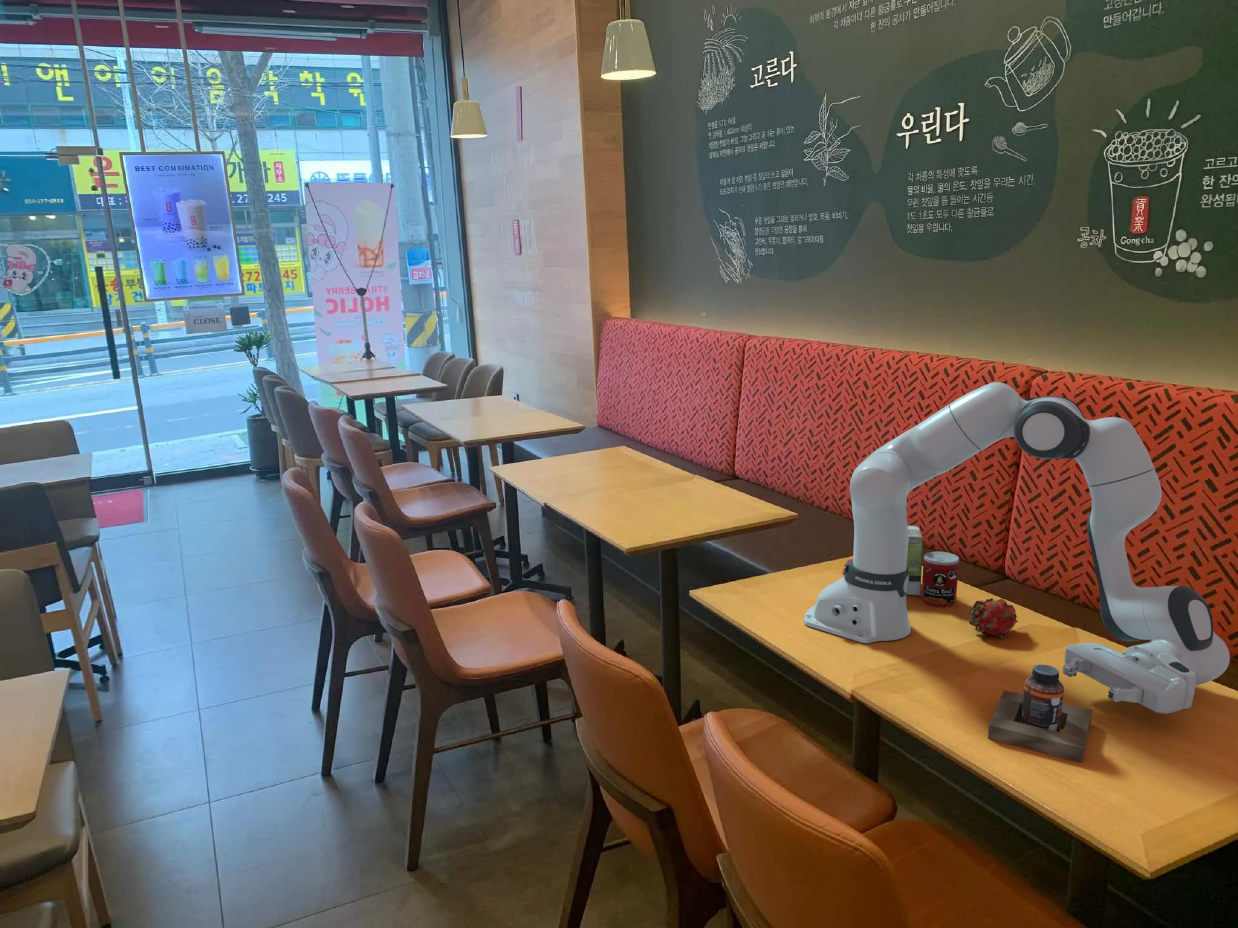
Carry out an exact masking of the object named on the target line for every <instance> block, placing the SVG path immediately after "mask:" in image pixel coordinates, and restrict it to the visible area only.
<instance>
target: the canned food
mask: <svg viewBox="0 0 1238 928" xmlns="http://www.w3.org/2000/svg"><path fill="white" fill-rule="evenodd" d="M959 565H960V558H959V556H958V555H956V554H955V553H954V554H953V553H951V552H947V551H946V552H945V551H936V550H935V551H931V552H926V553H925V554H924V555H923V561H922V576H921V593H920V596H921V601H922V603H924V604H925V605H927V606H931V607H934V608H949V607H952V606H954V605H955V603H956V601H957V592H958V582H959V581H958V579H959V569H960V568H959V567H960V566H959Z"/></svg>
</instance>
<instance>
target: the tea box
mask: <svg viewBox="0 0 1238 928" xmlns="http://www.w3.org/2000/svg"><path fill="white" fill-rule="evenodd" d="M907 526H908V531H909V538H908V555H907V567H908V569H909V574H908V576H909V584H908V591H907V594H906V596H907V595H911V596H921V593H922V574H923V552H924V551H923V548H924V547H923V545H924V537H923V535H922V533H921V530H920V527H919V526H918V525H907Z"/></svg>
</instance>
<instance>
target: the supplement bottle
mask: <svg viewBox="0 0 1238 928" xmlns="http://www.w3.org/2000/svg"><path fill="white" fill-rule="evenodd" d="M1064 692H1065V687H1064V685H1063V683H1062V682H1061V681H1060V671H1059V669H1057V668H1056V667H1054V666H1052V665H1048V664H1036V665H1033V667H1032V672H1031V675H1030V676H1028V677H1027V678H1025V681H1024V688H1023V694H1024V696H1023V706H1022V716H1020V717H1021V718H1020V723H1023V724H1027V725H1031V726H1035V727H1039V728H1043V729H1047V730H1052V731H1056V732H1060V729H1061V725H1060V724H1061V713H1062V704H1064V694H1065V693H1064Z"/></svg>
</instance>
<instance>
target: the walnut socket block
mask: <svg viewBox="0 0 1238 928" xmlns="http://www.w3.org/2000/svg"><path fill="white" fill-rule="evenodd" d="M1023 696H1024V693H1018V692H1016V691H1015V692H1014V691H1009V690H1005V689H1003V691H1002V694H1001V695H1000V697H999V700H998V702H997V704H996V707H995V710H994V712H993V714H992V716H991V719H990V722H989V724H988V731H987V732H988V733H987V739H990V740H993V741H996V742H1001V743H1005V744H1009V745H1013V746H1016V747H1019V748H1024V749H1028V750H1032V751H1035V752H1039V753H1044V754H1047V755H1051V756H1055V757H1059V758H1062V759H1066V760H1070V761H1074V762H1078V763H1081V764H1082V763H1083V760H1084V754H1085V749H1086V746H1087V740H1088V735H1089V730H1090V726H1091V719H1092V712H1093V710H1092V709H1089V708H1085V707H1080V706H1075V705H1072V704H1071V705H1070V704H1067V703H1063V704H1062V713H1061V724H1060V727H1061V726H1062V727H1064V728H1063V731H1062V732H1060V731H1059V732H1056V731H1052V730H1047V729H1043V728H1039V727H1035V726H1031V725H1027V724H1023V723H1021V722H1018V721H1019V718H1020V717H1021V716H1022V706H1023Z"/></svg>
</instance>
